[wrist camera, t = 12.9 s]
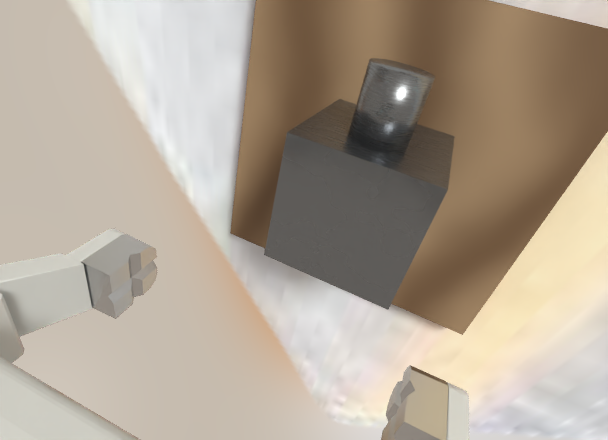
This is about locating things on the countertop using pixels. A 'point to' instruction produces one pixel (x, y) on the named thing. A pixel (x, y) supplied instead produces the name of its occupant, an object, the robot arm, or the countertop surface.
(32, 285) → the robot arm
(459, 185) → the brown square plate
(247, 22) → the countertop surface
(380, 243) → the grey block with cylinder
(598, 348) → the countertop surface
